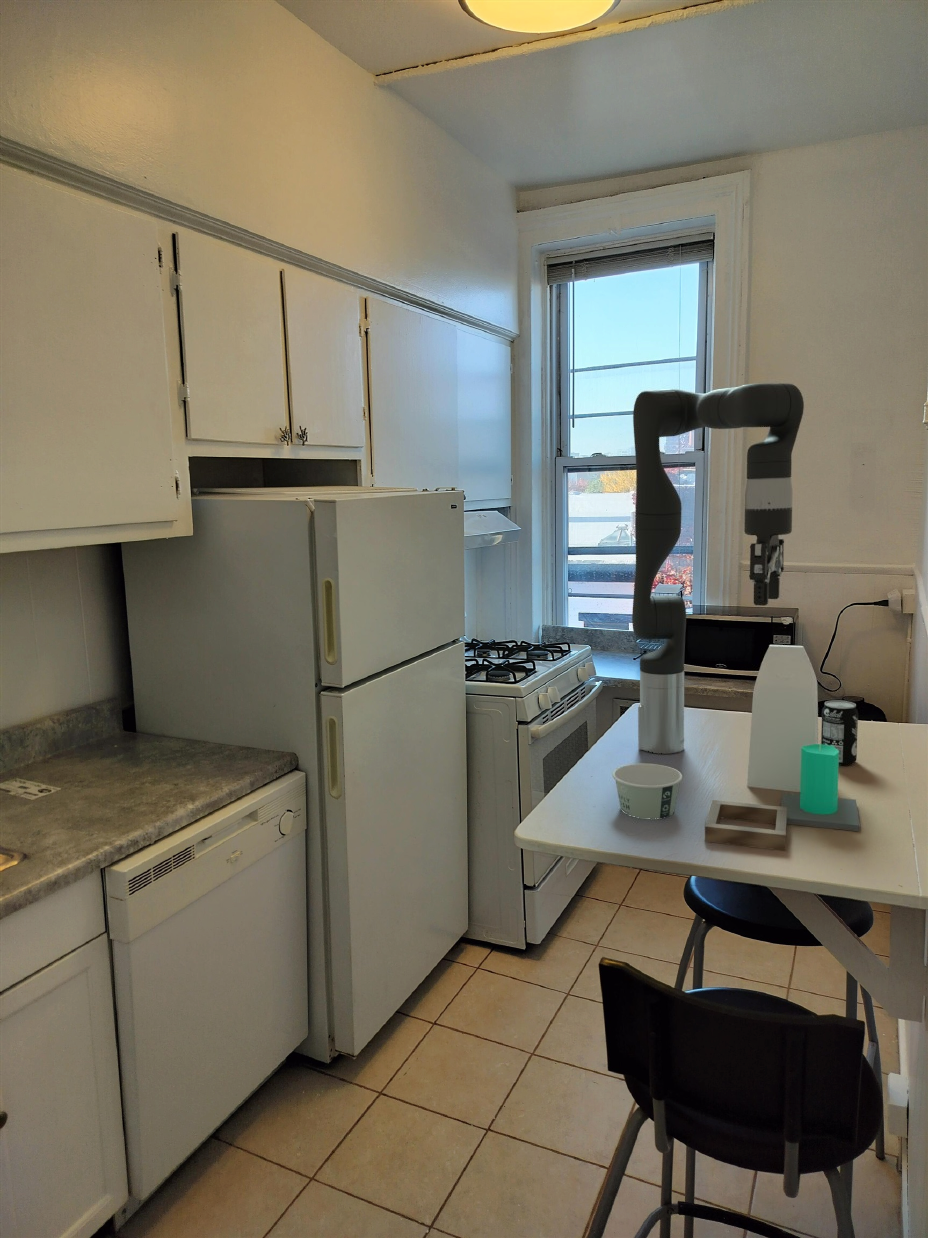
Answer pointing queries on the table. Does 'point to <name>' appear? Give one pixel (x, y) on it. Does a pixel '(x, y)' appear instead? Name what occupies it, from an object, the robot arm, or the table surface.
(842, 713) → the beverage can
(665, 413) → the robot arm
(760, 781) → the milk
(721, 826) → the open wooden box
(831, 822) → the plate
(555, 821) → the table surface
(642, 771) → the food container
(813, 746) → the candle
